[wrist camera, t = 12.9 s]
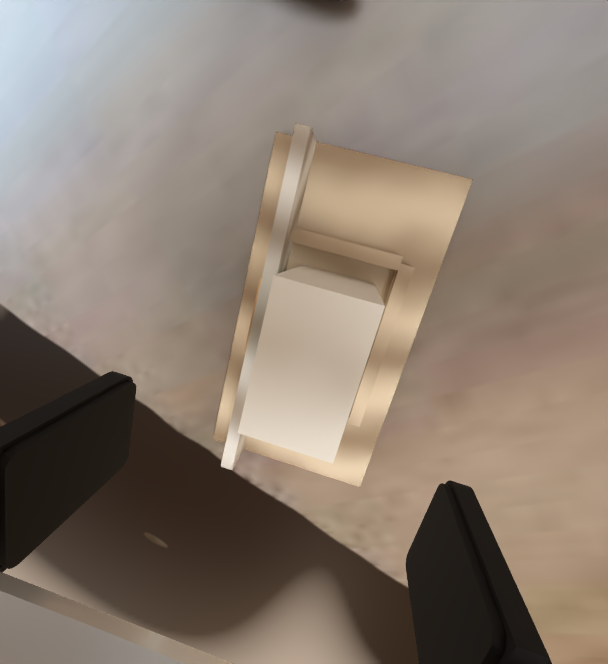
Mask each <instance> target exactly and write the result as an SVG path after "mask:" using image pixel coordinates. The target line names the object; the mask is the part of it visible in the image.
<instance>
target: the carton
mask: <svg viewBox="0 0 608 664" xmlns="http://www.w3.org/2000/svg"><path fill="white" fill-rule="evenodd" d="M384 308H385V305H384V303H383V301H382V298H381V296H380V294H379V292H378V290H377V288H376V286H375V284H373V283H370V282H366V281H363V280H359V279H355V278H352V277H348V276H344V275H341V274H337V273H333V272H330V271H326V270H322V269H319V268H315V267H311V266H308V265H302V266H299V267H296V268H293V269H290V270H287V271H284V272H281V273H278V274H275V275H274V276H273V280H272V284H271V289H270V293H269V298H268V302H267V306H266V311H265V315H264V320H263V324H262V328H261V333H260V337H259V342H258V346H257V350H256V355H255V359H254V364H253V368H252V372H251V377H250V381H249V386H248V390H247V394H246V399H245V403H244V408H243V412H242V416H241V421H240V425H239V430H238V433H239V434H242V435H245V436H249V437H252V438H255V439H258V440H261V441H264V442H267V443H270V444H273V445H276V446H280V447H283V448H286V449H289V450H292V451H295V452H298V453H301V454H304V455H307V456H310V457H314V458H317V459H320V460H323V461H326V462H329V463H332V464H333V462H334V459H335V456H336V453H337V450H338V447H339V444H340V441H341V438H342V435H343V432H344V429H345V426H346V423H347V420H348V417H349V414H350V411H351V408H352V405H353V402H354V399H355V396H356V393H357V390H358V387H359V384H360V381H361V378H362V375H363V372H364V369H365V366H366V363H367V360H368V357H369V354H370V351H371V348H372V345H373V342H374V339H375V336H376V333H377V330H378V327H379V324H380V321H381V318H382V314H383V311H384Z"/></svg>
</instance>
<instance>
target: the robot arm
mask: <svg viewBox="0 0 608 664" xmlns="http://www.w3.org/2000/svg"><path fill="white" fill-rule="evenodd" d="M135 395H136V384H135V383H133V380H132V378H131V377H129V376H126V375H123V374H120V373H117V372H113V371H112V372H109V373H107V374H105V375H103V376H101V377H99V378H97V379H95V380H93V381H91V382H89V383H87V384H85V385H83V386H81V387H79V388H77V389H75V390H73V391H71V392H69V393H67V394H65V395H63V396H61V397H59V398H57V399H55V400H53V401H51V402H49V403H47V404H45V405H43V406H41V407H39V408H37V409H35V410H33V411H31V412H29V413H27V414H25V415H24V416H21V417H19V418H17V419H15V420H13V421H12V422H9V423H7V424H5V425H3V426H1V427H0V664H232V663H230V662H227V661H225V660H223V659H220V658H217V657H215V656H212V655H210V654H207V653H205V652H202V651H200V650H197V649H195V648H192V647H190V646H187V645H185V644H182V643H180V642H177V641H175V640H172V639H170V638H167V637H165V636H162V635H160V634H157V633H155V632H152V631H150V630H147V629H145V628H142V627H140V626H137V625H135V624H132V623H130V622H127V621H125V620H122V619H120V618H117V617H114V616H112V615H109V614H107V613H104V612H102V611H99V610H97V609H94V608H91V607H89V606H86V605H84V604H81V603H79V602H76V601H74V600H71V599H68V598H66V597H63V596H60V595H58V594H56V593H53V592H51V591H48V590H45V589H43V588H40V587H38V586H35V585H33V584H30V583H27V582H25V581H22V580H20V579H17V578H14V577H12V576H10V575H7V574H4V573H2V572H3V571H5V570H6V569H7V568H8V569H10V568H13V567H15V566H17V565H18V564H19V563H20V562H21V561H22V560H23V559H25V558H26V557H27V556H28V555H29V554H30V553H31V552H32V551H33V550H34V549H35V548H36V547H37V546H39V545H40V544H41V543H42V542H43V541H44V540H45V539H46V538H47V537H48V536H49V535H50V534H51V533H52V532H53V531H55V530H56V529H57V528H58V527H59V526H60V525H61V524H62V523H63V522H64V521H65V520H67V519H68V518H69V517H70V516H71V515H72V514H73V513H74V512H75V511H76V510H77V509H78V508H79V507H80V506H81V505H82V504H84V503H85V502H86V501H87V500H88V499H89V498H90V497H91V496H92V495H93V494H94V493H95V492H97V491H98V490H99V489H100V488H101V487H102V486H103V485H104V484H105V483H106V482H107V481H108V480H109V479H111V477H113V476H114V475H115V474H116V473H117V472H118V471H119V470H120V469H121V468H122V467H123V466H124V464H125V463H126V461H127V459H128V454H129V445H130V437H131V428H132V420H133V412H134V403H135ZM406 572H407V579H408V587H409V594H410V601H411V608H412V615H413V623H414V629H415V637H416V644H417V651H418V659H419V664H552V663H551V660H550V658H549V655H548V653H547V651H546V649H545V647H544V644H543V642H542V640H541V638H540V636H539V634H538V631H537V629H536V627H535V625H534V623H533V620H532V618H531V616H530V614H529V612H528V609H527V607H526V605H525V603H524V601H523V598H522V596H521V594H520V592H519V590H518V588H517V585H516V583H515V581H514V579H513V577H512V574H511V572H510V570H509V568H508V566H507V563H506V561H505V559H504V557H503V555H502V552H501V550H500V548H499V546H498V544H497V541H496V539H495V537H494V535H493V533H492V531H491V528H490V526H489V524H488V522H487V520H486V517H485V515H484V513H483V511H482V509H481V506H480V504H479V502H478V500H477V498H476V495H475V493H474V491H473V489H472V488H471V487H469V486H466V485H463V484H460V483H456V482H453V481H448V482H446V484H440V485H439V486H438V488H437V490H436V492H435V494H434V497H433V499H432V501H431V503H430V505H429V508H428V510H427V512H426V514H425V516H424V519H423V521H422V523H421V525H420V527H419V530H418V532H417V534H416V536H415V538H414V541H413V543H412V545H411V547H410V549H409V552H408V554H407V558H406Z"/></svg>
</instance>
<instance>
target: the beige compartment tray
mask: <svg viewBox="0 0 608 664" xmlns="http://www.w3.org/2000/svg"><path fill="white" fill-rule="evenodd" d="M472 180H473V179H469V178H464V177H460V176H456V175H452V174H448V173H444V172H440V171H435V170H431V169H427V168H423V167H419V166H415V165H411V164H407V163H402V162H398V161H394V160H390V159H386V158H382V157H378V156H374V155H369V154H365V153H361V152H357V151H353V150H349V149H345V148H341V147H336V146H332V145H328V144H324V143H320V142H317V141H316V139H315V136H314V134H313V131H312V128H311V127H309V126H305V125H301V124H297V123H295V128H294V132H293V136H291V135H287V134H283V133H279V132H276V135H275V140H274V144H273V149H272V154H271V159H270V164H269V169H268V174H267V179H266V184H265V188H264V193H263V198H262V203H261V208H260V213H259V218H258V223H257V228H256V232H255V237H254V242H253V247H252V252H251V257H250V262H249V267H248V271H247V276H246V281H245V286H244V291H243V296H242V301H241V306H240V311H239V315H238V320H237V325H236V330H235V335H234V340H233V345H232V350H231V355H230V359H229V364H228V369H227V374H226V379H225V384H224V389H223V394H222V399H221V403H220V408H219V413H218V418H217V423H216V428H215V433H214V438H213V439H214V440H217V441H220V442H223V443H226V444H225V449H224V453H223V458H222V462H221V466H222V467H225V468H227V469H230V470H232V469H233V467H234V465H235V464H236V462H237V460H238V458H239V457H240V455H241V453H242V451H243V449H245V450H248V451H251V452H254V453H257V454H260V455H263V456H266V457H269V458H272V459H275V460H279V461H282V462H285V463H288V464H291V465H294V466H297V467H300V468H303V469H306V470H309V471H312V472H315V473H318V474H321V475H324V476H327V477H331V478H334V479H337V480H340V481H343V482H346V483H349V484H352V485H355V486H358V487H360V485H361V482H362V480H363V477H364V474H365V471H366V469H367V466H368V463H369V461H370V458H371V455H372V452H373V450H374V447H375V444H376V442H377V439H378V436H379V433H380V431H381V428H382V425H383V423H384V420H385V417H386V414H387V412H388V409H389V406H390V403H391V401H392V398H393V395H394V393H395V390H396V387H397V384H398V382H399V379H400V376H401V374H402V371H403V368H404V365H405V363H406V360H407V357H408V354H409V352H410V349H411V346H412V344H413V341H414V338H415V335H416V333H417V330H418V327H419V325H420V322H421V319H422V316H423V314H424V311H425V308H426V306H427V303H428V300H429V297H430V295H431V292H432V289H433V286H434V284H435V281H436V278H437V276H438V273H439V270H440V267H441V265H442V262H443V259H444V257H445V254H446V251H447V248H448V246H449V243H450V240H451V237H452V235H453V232H454V229H455V227H456V224H457V221H458V218H459V216H460V213H461V210H462V208H463V205H464V202H465V199H466V197H467V194H468V191H469V189H470V186H471V183H472ZM302 265H308V266H311V267H315V268H319V269H322V270H326V271H330V272H333V273H337V274H341V275H344V276H348V277H352V278H355V279H359V280H363V281H366V282H370V283H373V284H375V286H376V288H377V290H378V292H379V294H380V296H381V298H382V301H383V303H384V305H385V308H384V311H383V314H382V318H381V321H380V324H379V327H378V330H377V333H376V336H375V339H374V342H373V345H372V348H371V351H370V354H369V357H368V360H367V363H366V366H365V369H364V372H363V375H362V378H361V381H360V384H359V387H358V390H357V393H356V396H355V399H354V402H353V405H352V408H351V411H350V414H349V417H348V420H347V423H346V426H345V429H344V432H343V435H342V438H341V441H340V444H339V447H338V450H337V453H336V456H335V459H334V462H333V464H332V463H329V462H326V461H323V460H320V459H317V458H314V457H310V456H307V455H304V454H301V453H298V452H295V451H292V450H289V449H286V448H283V447H280V446H276V445H273V444H270V443H267V442H264V441H261V440H258V439H255V438H252V437H249V436H245V435H242V434H239V433H238V430H239V425H240V421H241V416H242V412H243V408H244V403H245V399H246V394H247V390H248V386H249V381H250V377H251V372H252V368H253V364H254V359H255V355H256V350H257V346H258V342H259V337H260V333H261V328H262V324H263V320H264V315H265V311H266V306H267V302H268V298H269V293H270V289H271V284H272V280H273V276H274V275H275V274H278V273H281V272H284V271H287V270H290V269H293V268H296V267H299V266H302Z"/></svg>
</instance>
